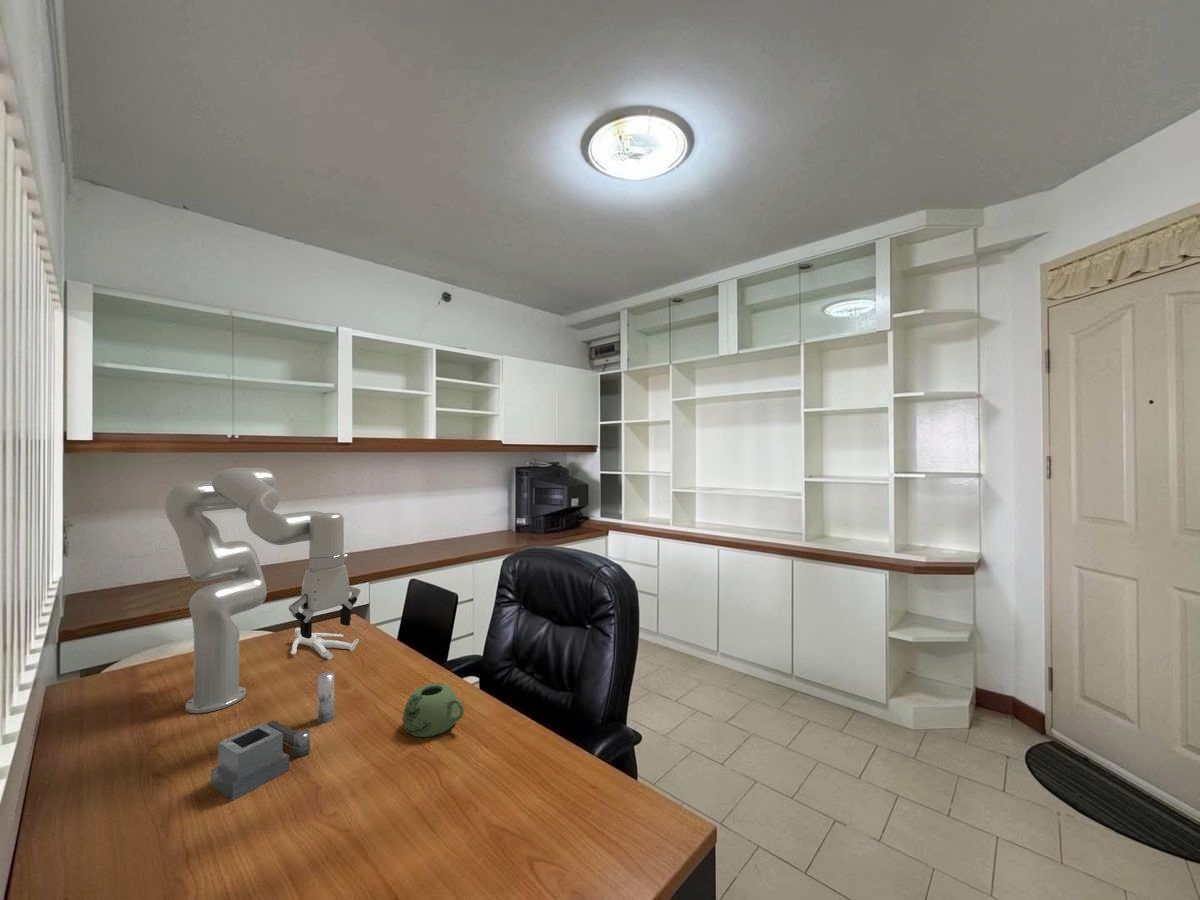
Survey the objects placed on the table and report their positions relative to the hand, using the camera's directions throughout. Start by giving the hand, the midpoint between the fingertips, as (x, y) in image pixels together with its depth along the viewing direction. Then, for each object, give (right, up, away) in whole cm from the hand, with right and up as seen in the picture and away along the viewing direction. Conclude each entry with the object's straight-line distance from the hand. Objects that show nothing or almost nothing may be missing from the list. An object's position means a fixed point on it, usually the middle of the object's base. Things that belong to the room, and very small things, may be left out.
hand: (326, 630), depth 117 cm
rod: (0, -22, 0) cm, 22 cm away
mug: (+29, -22, -4) cm, 37 cm away
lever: (-3, -22, -11) cm, 24 cm away
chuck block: (-3, -22, -22) cm, 31 cm away
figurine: (-29, -24, +44) cm, 58 cm away
